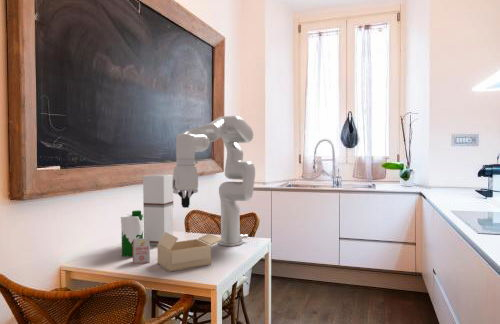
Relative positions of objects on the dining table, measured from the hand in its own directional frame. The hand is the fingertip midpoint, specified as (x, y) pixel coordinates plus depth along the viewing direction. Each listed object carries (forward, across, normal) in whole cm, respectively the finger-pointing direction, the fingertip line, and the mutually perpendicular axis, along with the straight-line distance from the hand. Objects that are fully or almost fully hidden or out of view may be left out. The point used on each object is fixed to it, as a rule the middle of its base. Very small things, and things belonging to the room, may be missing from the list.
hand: (185, 207), depth 160 cm
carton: (+24, 0, 0) cm, 24 cm away
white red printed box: (+24, +14, -14) cm, 31 cm away
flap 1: (+16, +10, 0) cm, 19 cm away
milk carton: (+24, +14, -28) cm, 39 cm away
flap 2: (+16, -8, 0) cm, 18 cm away
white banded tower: (+24, -4, -43) cm, 50 cm away
